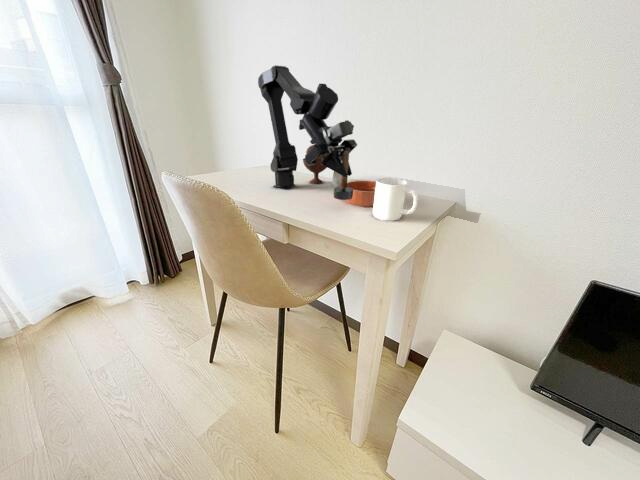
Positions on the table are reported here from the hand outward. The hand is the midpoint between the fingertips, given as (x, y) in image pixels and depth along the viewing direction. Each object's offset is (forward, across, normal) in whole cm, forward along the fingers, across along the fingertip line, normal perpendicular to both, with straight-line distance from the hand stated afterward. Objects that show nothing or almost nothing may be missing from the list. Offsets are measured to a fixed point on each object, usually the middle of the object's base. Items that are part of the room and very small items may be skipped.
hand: (348, 175), depth 73 cm
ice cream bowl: (-12, +21, +28) cm, 37 cm away
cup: (+17, +5, -1) cm, 18 cm away
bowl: (+7, +13, +8) cm, 17 cm away
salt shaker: (-5, +24, +21) cm, 32 cm away
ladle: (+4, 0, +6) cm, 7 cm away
